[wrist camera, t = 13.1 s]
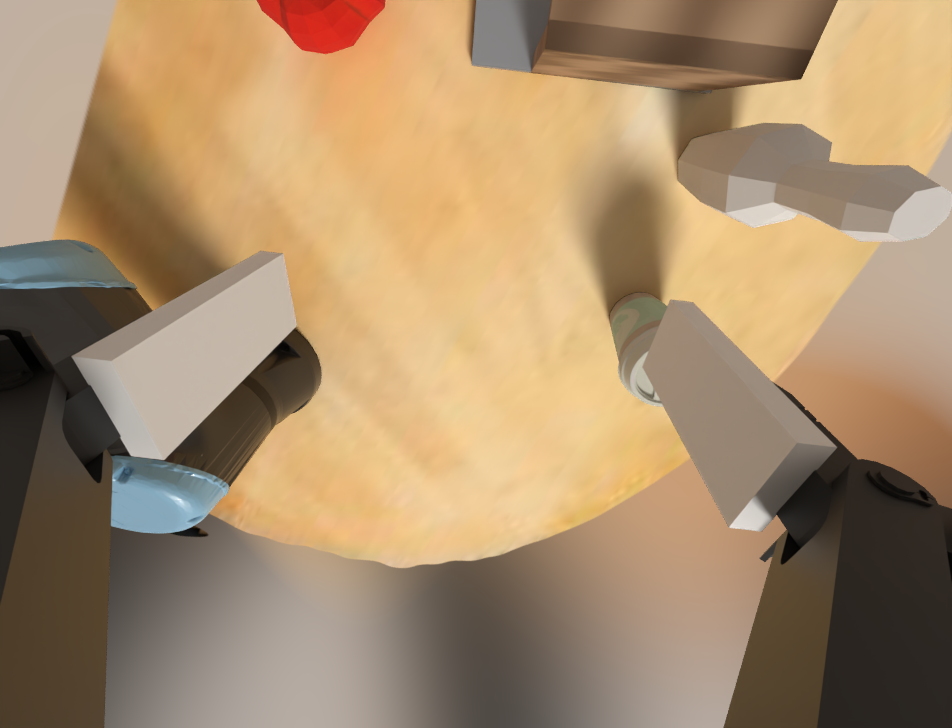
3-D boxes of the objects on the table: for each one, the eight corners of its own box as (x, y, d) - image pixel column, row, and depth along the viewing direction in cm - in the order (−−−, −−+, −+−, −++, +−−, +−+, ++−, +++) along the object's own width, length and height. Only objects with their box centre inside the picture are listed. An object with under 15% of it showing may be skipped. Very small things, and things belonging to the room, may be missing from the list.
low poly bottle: (722, 201, 37) (939, 289, 18) (657, 195, 37) (807, 277, 18) (754, 124, 33) (1062, 137, 15) (682, 118, 33) (898, 122, 15)
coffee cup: (617, 271, 41) (652, 322, 31) (689, 291, 42) (746, 347, 32) (585, 337, 46) (607, 399, 36) (650, 354, 46) (690, 420, 36)
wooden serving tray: (530, 72, 32) (544, 48, 20) (541, 0, 30) (563, -74, 18) (693, 91, 32) (801, 79, 20) (717, 21, 30) (855, -39, 18)
